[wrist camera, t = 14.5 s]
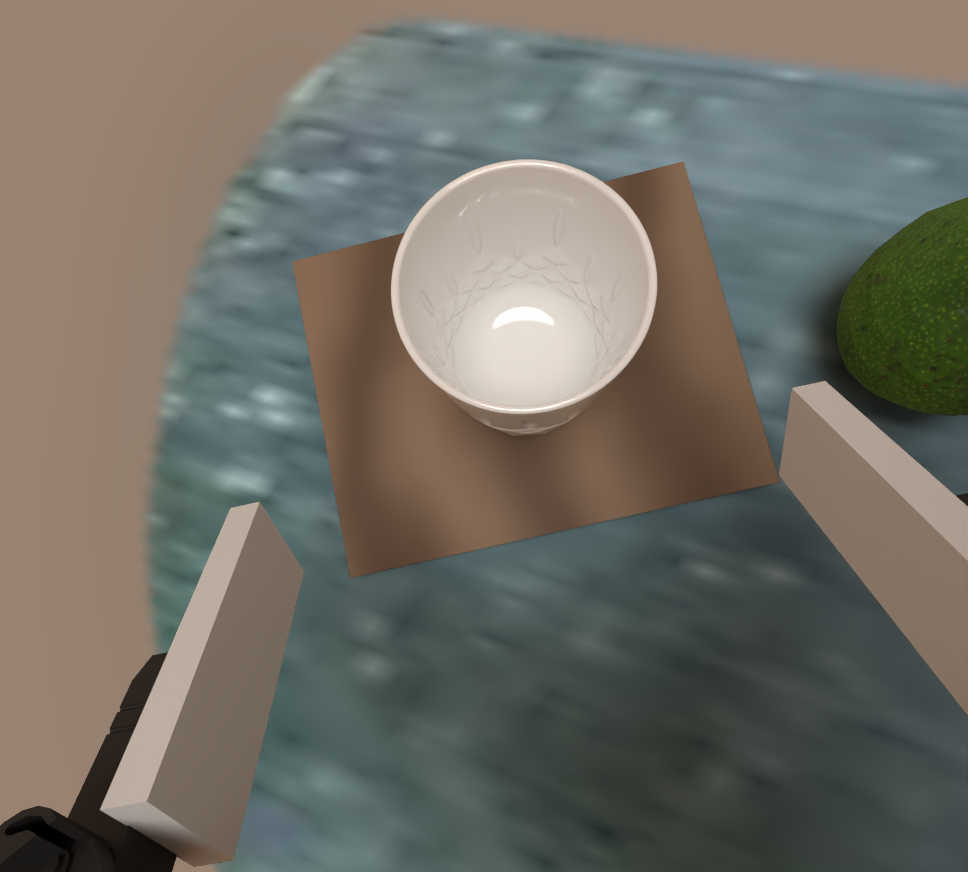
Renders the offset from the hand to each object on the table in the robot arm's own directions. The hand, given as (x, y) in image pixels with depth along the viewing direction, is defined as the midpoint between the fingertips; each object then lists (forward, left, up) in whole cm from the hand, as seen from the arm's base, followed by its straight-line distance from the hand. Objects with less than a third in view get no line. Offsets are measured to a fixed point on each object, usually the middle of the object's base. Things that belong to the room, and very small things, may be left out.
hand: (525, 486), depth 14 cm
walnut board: (-1, -6, -13) cm, 14 cm away
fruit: (-18, -3, -13) cm, 23 cm away
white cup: (-1, -6, -12) cm, 13 cm away
